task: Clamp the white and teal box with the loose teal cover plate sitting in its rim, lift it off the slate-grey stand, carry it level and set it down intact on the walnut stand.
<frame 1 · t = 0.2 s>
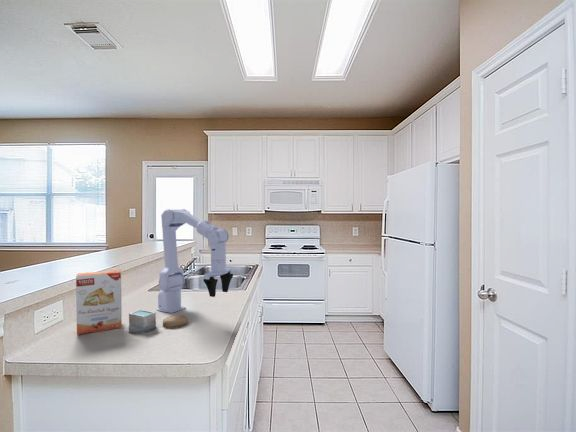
hand: (219, 294, 123), 10 cm above the countertop, tool pointing down, fingers open, 7 cm apart
white and teal box: (142, 323, 115), point 2 cm above the countertop, touching cover plate, grey stand
grey stand: (142, 328, 115), on the countertop
walnut stand: (175, 323, 119), on the countertop
cover plate: (142, 315, 114), point 5 cm above the countertop, touching white and teal box
cracker box: (100, 329, 115), on the countertop
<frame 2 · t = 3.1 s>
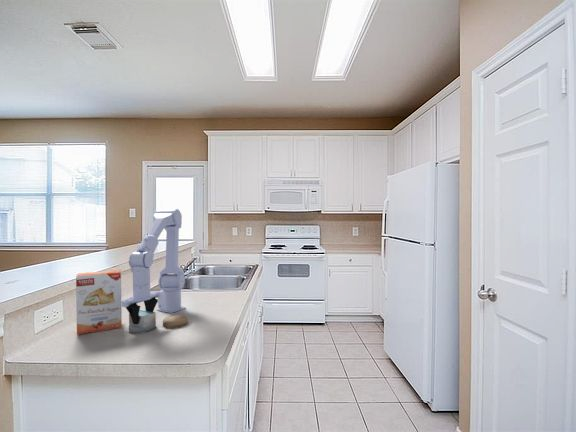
hand: (142, 321, 115), 3 cm above the countertop, tool pointing down, fingers closed on white and teal box, 5 cm apart
white and teal box: (142, 323, 115), point 2 cm above the countertop, touching cover plate, grey stand, gripper
everything else where it was.
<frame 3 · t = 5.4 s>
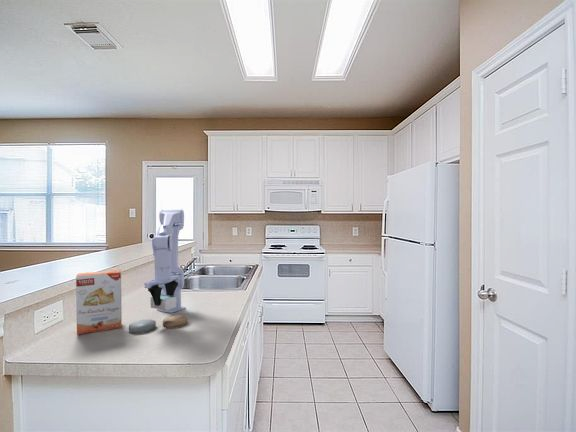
hand: (163, 303, 118), 8 cm above the countertop, tool pointing down, fingers closed on white and teal box, 5 cm apart
white and teal box: (163, 307, 118), point 7 cm above the countertop, touching cover plate, gripper
cover plate: (162, 299, 117), point 10 cm above the countertop, touching white and teal box
everything else where it was.
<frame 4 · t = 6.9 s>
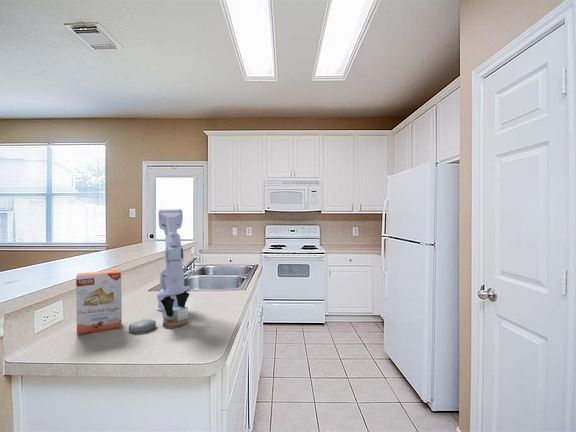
hand: (175, 314, 119), 4 cm above the countertop, tool pointing down, fingers closed on white and teal box, 5 cm apart
white and teal box: (175, 318, 119), point 2 cm above the countertop, touching cover plate, gripper
cover plate: (174, 310, 119), point 5 cm above the countertop, touching white and teal box
everything else where it was.
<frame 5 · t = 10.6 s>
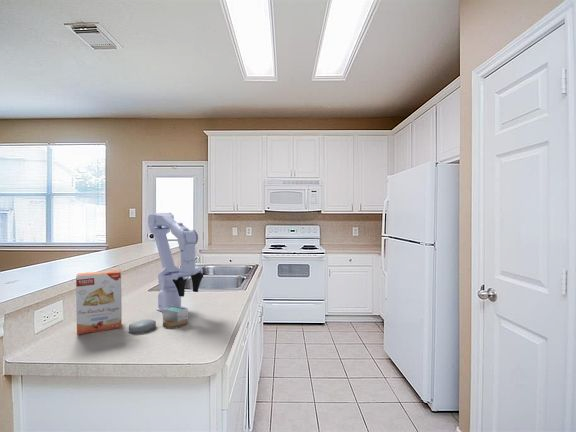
hand: (188, 293, 127), 9 cm above the countertop, tool pointing down, fingers open, 7 cm apart
white and teal box: (175, 319, 119), point 2 cm above the countertop, touching cover plate, walnut stand
at the end: white and teal box 0.0 cm off-centre on the walnut stand, point 1.8 cm above the walnut stand's base; cover plate 0.1 cm off-centre on the white and teal box, point 3.0 cm above the white and teal box's base; white and teal box tilted 0° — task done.
